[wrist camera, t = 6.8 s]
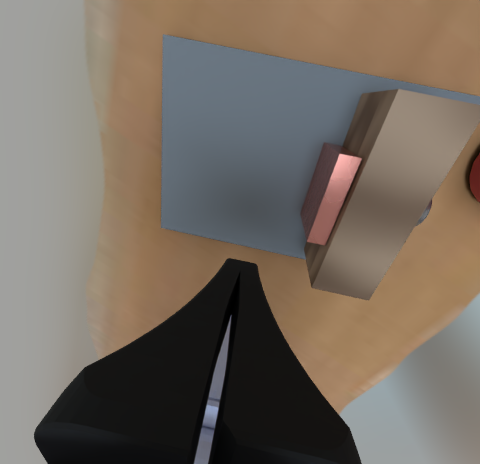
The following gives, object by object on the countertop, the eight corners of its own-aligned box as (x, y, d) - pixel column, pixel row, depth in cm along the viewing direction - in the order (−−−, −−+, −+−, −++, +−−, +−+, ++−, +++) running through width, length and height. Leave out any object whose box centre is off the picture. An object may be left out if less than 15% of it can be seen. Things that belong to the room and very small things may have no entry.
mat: (374, 271, 21) (377, 275, 21) (163, 224, 22) (161, 227, 22) (476, 97, 15) (484, 97, 14) (166, 36, 15) (162, 34, 15)
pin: (300, 213, 19) (306, 241, 15) (324, 142, 16) (339, 153, 12) (387, 232, 19) (417, 265, 15) (426, 163, 16) (475, 181, 12)
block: (348, 259, 21) (368, 300, 16) (303, 249, 21) (311, 287, 16) (425, 106, 15) (489, 106, 10) (362, 93, 15) (398, 88, 10)
